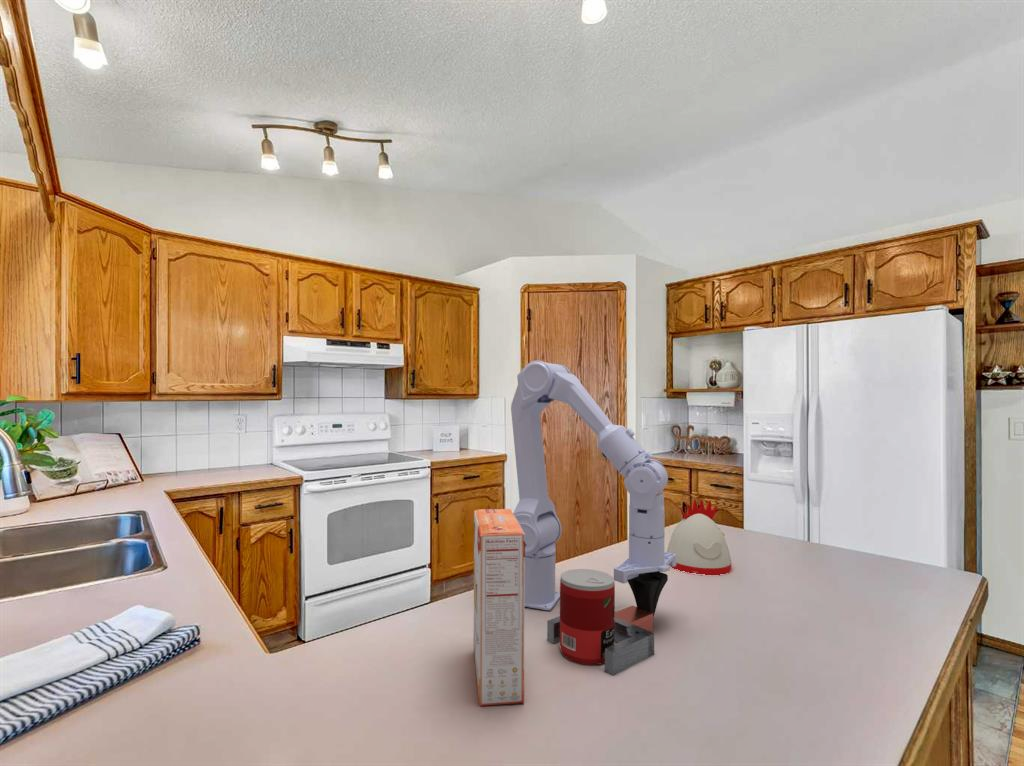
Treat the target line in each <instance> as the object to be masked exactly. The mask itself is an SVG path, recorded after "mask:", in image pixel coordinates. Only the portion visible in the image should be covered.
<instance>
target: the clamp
mask: <svg viewBox="0 0 1024 766" xmlns="http://www.w3.org/2000/svg"><path fill="white" fill-rule="evenodd" d="M546 627H547V629H546V630H547V632H546V635H547V636H546V638H547V639H546V640H547V642H549V643H551V644H554V645H555V644H557V643H560V615H559V616H556V617H554V618H550V619H548V620H547V625H546ZM651 655H652V656H654V655H655V632H654V618H653V613H651V612H648V611H646V610H643V609H641V608H638V607H637V606H636V605H630V606H628V607H625V608H623V609H620V610H618V611H615V616H614V645H612V646H610V647H608V648H605V663H604V672H606V673H607V674H609V675H612V676H614V675H617V674H618V673H620V672H622V671H624V670H626V669H629V667H632V666H634V665H636V664H638V663H639V662H642V661H643V660H645V659H648V658H649V657H652V656H651Z"/></svg>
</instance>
